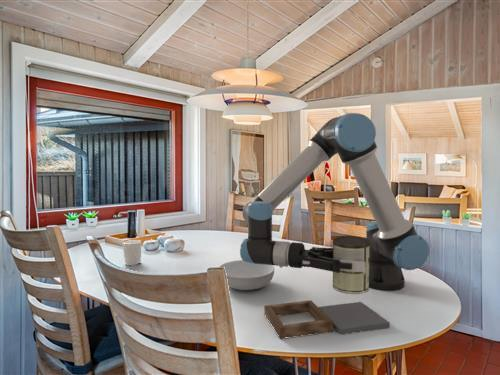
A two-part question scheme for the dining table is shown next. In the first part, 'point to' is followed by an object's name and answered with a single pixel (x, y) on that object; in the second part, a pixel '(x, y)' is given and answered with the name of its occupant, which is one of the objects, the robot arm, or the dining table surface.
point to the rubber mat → (354, 318)
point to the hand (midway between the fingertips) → (366, 261)
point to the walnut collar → (298, 328)
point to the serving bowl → (247, 274)
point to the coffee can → (352, 251)
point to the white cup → (132, 251)
